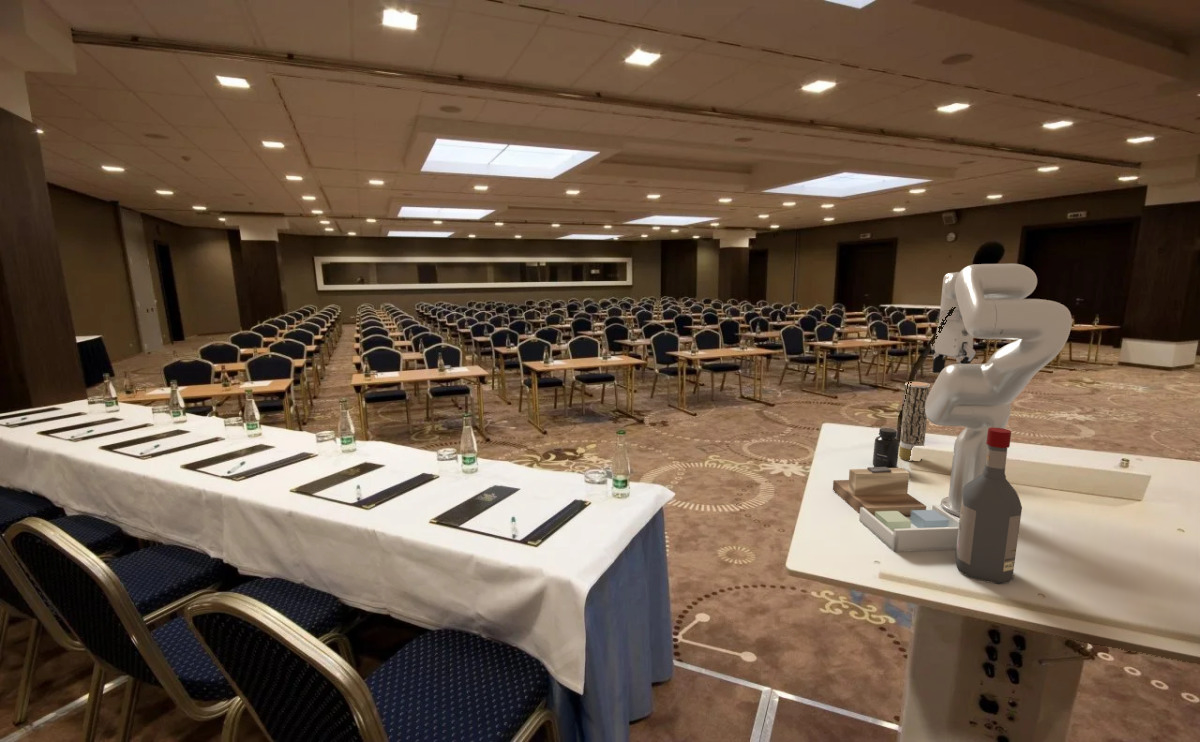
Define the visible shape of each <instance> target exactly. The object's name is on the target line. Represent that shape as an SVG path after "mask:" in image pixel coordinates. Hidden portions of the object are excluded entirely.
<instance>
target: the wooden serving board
mask: <svg viewBox="0 0 1200 742" xmlns="http://www.w3.org/2000/svg"><path fill="white" fill-rule="evenodd" d="M832 483H833V484H832V491H833V490H834V491H835V492H836V493H837V494H838V495H837V494H836V493H835V492H834V491H833V492H834V493H835V494H836V495H837V496H838V497H840V498H841V499H842V500H843V501H844V500H845V501H844V502H845V503H847V504H848V505H849V506H850V507H851V508H852V509H854V511H856V513H858V514H859V515H860V507H864V508H865V509H866V510H867V511H869V512H870V513H871V514H872V515H873V516H875V512H877V511H898V512H900V513H901V514H902V515H904V516H905V517H911V510H927V505H926V504H924V503H923V502H921V501H920V500H918V499H916V498H915V497H913V496H912V495H911V494H909V493H908V492H907V494H902V495H869V496H854V495H853V494H852V493H850V492H849V491H848V484H849V479H838V480H837V479H836V480H833V482H832Z"/></svg>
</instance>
